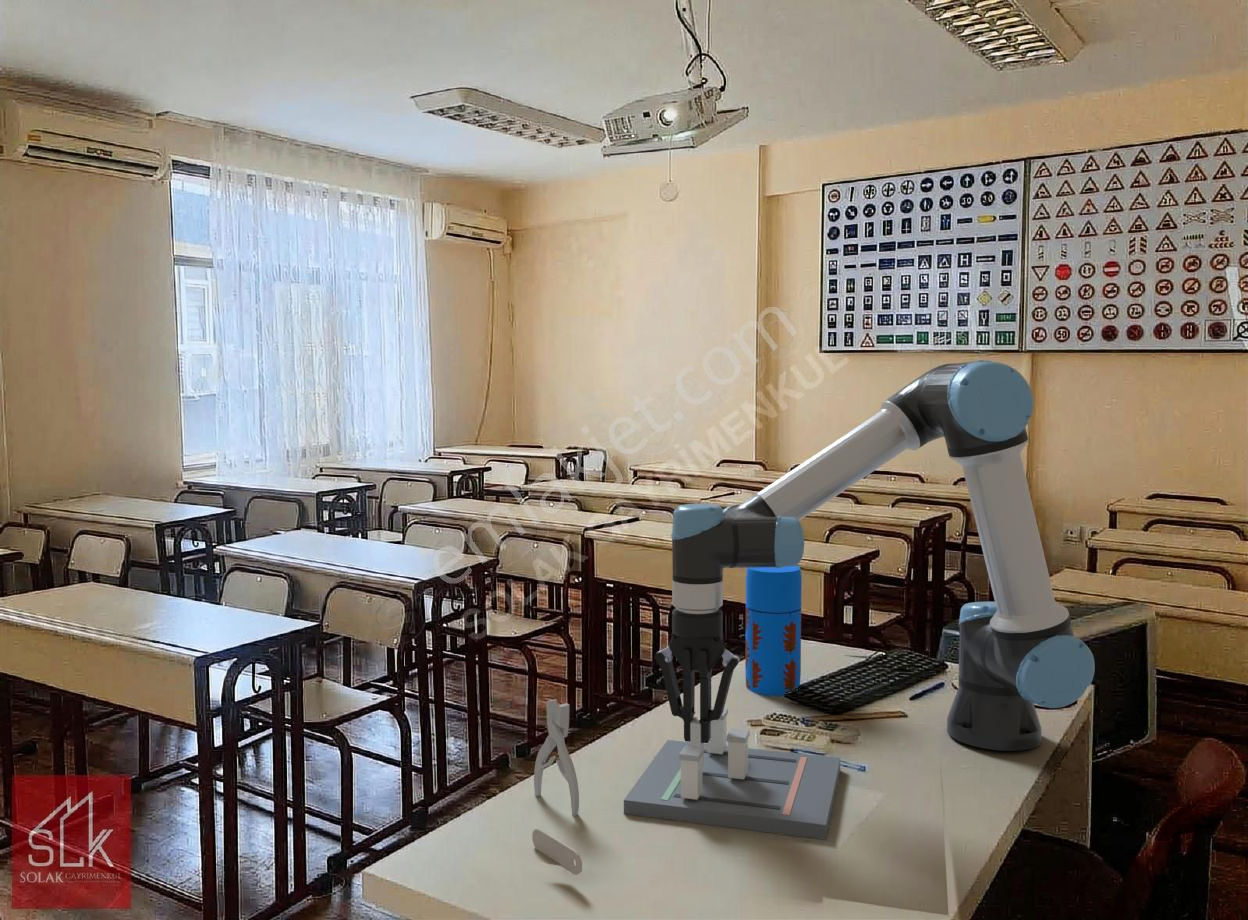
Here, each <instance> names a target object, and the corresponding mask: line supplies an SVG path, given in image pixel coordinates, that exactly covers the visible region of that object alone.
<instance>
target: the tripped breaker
mask: <svg viewBox="0 0 1248 920" xmlns="http://www.w3.org/2000/svg"><path fill="white" fill-rule="evenodd" d="M750 736H751V735H750V729H743V728H734V727H731V728H730V729H729V731H728V733H727V734H726V743H728V744H727V746H728V778H736V779H745V776H746V774H747V772H748V748H749V737H750Z"/></svg>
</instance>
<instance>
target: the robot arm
mask: <svg viewBox="0 0 1248 920" xmlns="http://www.w3.org/2000/svg"><path fill="white" fill-rule="evenodd" d="M1033 411H1034V395H1033V392H1032V389H1031V386H1030V385H1029V383H1028V381H1027V380H1026V379H1025V377H1024V376H1023V375H1022V374H1021V373H1020V372H1019V371H1018V370H1017V369H1016V368H1013V367H1011V366H1010V365H1008V364H1005V363H1003V362H999V361H998V362H997V361H992V360H975V361H965V362H958V363H946V364H941V365H938V366H936V367H934V368H931V369H930V370H928V371H926V372H924V373H922V374H921V375H920V376H918V377H917V378H916V379H914V380H912V381H911V382H909V383H908V384H907V385H905V386H904V387H902V388H901V389H900V390H897V392H895V393H894V394H893V395H891V396H889V397H888V398H887V399H885V400H883V402H881V405H880V411H879V412H877V413H875V414H874V415H873V416H871V417H869V418H867V420H865V421H864V422H862V423H860V424H859V425H858V426H856V427H854V428H853V429H851V430H850V431H849V432H847V433H845V434H844V435H842V436H840V437H839V438H838V439H837V440H835V441H833V442H831V443H830V444H829V445H828V446H826V447H823V448H822V449H821V450H820V451H818V452H817V453H815V454H814V455H812V456H811V457H810V458H808V459H807V460H805V461H803V462H802V463H801V464H799V465H797V466H796V467H794V468H793V469H792V470H789V472H787V473H786V474H784V475H783V476H781V477H780V478H778V479H776V480H775V481H773V482H772V483H770V484H769V485H768V486H766V487H764V488H763V489H762V490H760V491H759V492H757V493H756V494H755V495H753V496H751V497H749V498H748V499H746V500H745V501H742V503H739V504H737V503H736V504H733V505H729V506H727V507H726V508H724V509H723V508H722V507H721V506H720V505H718V504H712V503H687V504H686V503H685V504H681V505H679V506H677V507H676V508H675V509H674V511H673V514H672V516H673V517H672V528H671V529H672V531H671V543H672V544H671V549H672V550H671V552H672V554H671V556H672V558H671V559H672V560H671V563H672V564H671V565H672V566H671V567H672V568H671V569H672V580H671V582H672V586H671V589H672V590H671V591H672V592H671V594H672V595H671V601H672V602H671V605H672V606H673V607H674V609H673V610H671V611H672V613H671V616H672V617H671V622H672V623H671V626H672V628H671V631H672V633H671V635H672V636H671V639H670V641H669V642H668V646H667V647H664V648H660V649H659V651H657V652H656V653H655V654H654V659H655V661H656V662H657V664H658V666H659V667H660V669H661V674H662V678H663V681H664V686H665V690H666V691H665V692H666V695H667V700H668V704H669V708H670V711H671V715H672V716H673V717H678V718H680V719H681V720H682V721H683V739H684V740H683V741H684V742H690V746H697V747H704V744H708V742H709V740H710V738H711V721H712V720H718V719H719V718H720V717H721V715H722V713H723V710H724V708H725V706H726V702H727V697H728V694H729V689H730V686H731V682H732V677H733V674H734V671H735V668H736V667H737V666H738V664H739V663H740V661H741V655H739V654H734V653H732V652H730V650H728V649H727V643H725V640H724V634H723V633H724V631H723V623H724V621H723V620H724V617H723V614H724V613H723V611H722V609H721V607H723V604H724V603H723V601H724V600H723V598H724V595H723V594H724V592H723V591H724V590H723V589H724V587H723V582H724V580H723V579H724V578H723V577H724V569H735V568H736V569H737V568H739V569H740V568H743V569H744V568H746V569H747V568H748V567H777V568H780V567H786V566H798V565H799V564H800V563H801V562H802V560H803V557H804V551H805V534H804V529H803V526H802V523H801V522H800V521H801V520H802V519H804V518H805V517H807V516H809V515H810V514H811V513H813V512H814V511H816V510H818V509H819V508H821V507H822V506H824V505H825V504H827V503H829V502H830V501H831V500H833V499H834V498H835V497H837V496H839V495H840V494H842V493H843V492H845V490H847V489H849V488H850V487H852V486H853V485H855V484H857V483H858V482H859V481H861V480H862V479H864V478H866V477H867V476H869V475H870V474H871V473H873V472H874V471H876V470H877V469H879V468H881V467H882V466H884V465H885V464H886V463H888V462H890V461H891V460H893V459H894V458H896V457H897V456H898V455H900V454H902V453H903V452H904V451H906V450H911V451H917V450H920V448H922V447H924V446H925V445H926V444H928V443H930V442H933V441H935V440H938V439H940V438H944V440H945V445H946V448H947V452H948V457H949V459H950V460H952V461H955V462H956V463H958V464H959V465H961V468H962V470H963V475H964V479H965V484H966V488H967V492H968V496H969V499H970V505H971V508H972V511H973V517H974V521H975V525H976V529H977V532H978V537H979V540H980V545H981V549H982V553H983V557H984V562H985V566H986V570H987V574H988V578H989V582H990V587H991V591H992V596H993V599H994V601H974V602H968V603H965V604H964V605H962V607H961V608H960V612H959V613H960V614H959V619H958V629H959V630H958V632H959V633H958V688H957V690H956V694H955V696H954V698H953V701H952V704H951V707H950V709H949V712H948V715H947V719H946V731H947V732H946V733H947V734H948V735H949V736H950V737H951V738H953V739H954V740H956V741H958V742H960V743H962V744H966V745H968V746H973V747H977V748H980V749H988V750H992V751H993V750H994V751H1006V752H1008V751H1011V752H1012V751H1013V752H1014V751H1024V750H1025V751H1026V750H1031V749H1035V748H1036V747H1038V746H1039V745H1040V744H1041V743H1042V734H1043V733H1042V725H1041V722H1040V718H1039V716H1038V713H1037V709H1036V706H1035V704H1036V705H1039V706H1041V707H1043V708H1049V709H1058V708H1063V707H1066V706H1069V705H1071V704H1073V703H1075V702H1077V700H1079V699H1080V698H1081V697H1083V695H1084V694H1085V693H1086V690H1087V689H1088V687H1091V684H1092V682H1093V679H1094V675H1095V667H1096V666H1095V658H1094V654H1093V653H1092V651H1091V649H1090V648H1089V647H1088V645H1087V644H1085V642H1084V641H1083V640H1081V639H1080V638H1078V637H1077V636H1075V633H1074V628H1073V624H1072V621H1071V617H1070V616H1071V615H1070V612H1069V610H1068V608H1067V607H1066V606H1063V605H1061V603H1058V602H1057V601H1056V600H1055V599H1056V598H1055V595H1054V591H1053V587H1052V586H1053V585H1052V583H1051V579H1050V578H1051V577H1050V574H1049V570H1048V569H1049V568H1048V566H1047V561H1046V557H1045V552H1044V549H1043V544H1042V540H1041V536H1040V531H1039V527H1038V524H1037V523H1038V522H1037V519H1036V514H1035V509H1034V507H1033V506H1034V505H1033V502H1032V499H1031V494H1030V493H1031V492H1030V489H1029V484H1028V480H1027V476H1026V473H1025V472H1026V471H1025V467H1024V463H1023V459H1022V451H1023V449H1025V447H1026V446H1027V444H1028V443H1029V438H1028V437H1029V436H1028V432H1027V427H1028V424H1029V420H1030V418H1031V417H1032V416H1033ZM673 656H674V657H675V659H676V661H677V662H678V663H679V665H680V667H682V675H681V676H682V682H683V684H682V697H681V693H680V690H679V684H678V681H677V680H678V679H677V676H676V671H675V667H674V664H673V659H674V657H673ZM721 657H722V665H723V666H722V667H724V669H723V671H722V674H721V678H720V681H719V685H718V690H717V695H716V699H715V702H714V706H713V707H714V709H713V710H711V707H712V672H713V668H714V666H715V665H716V664H717V662H718V661H720V658H721ZM696 671H698V673H699V675H698V677H699V690H700V691H699V717H697V716H696V717H695V714H696V710H695V701H696V700H695V697H696V696H695V695H696V693H695V689H696V688H695V687H696V686H695V685H696V683H695V680H696V678H695V677H696V676H695V675H696V674H695V673H696ZM703 761H704V754H703Z"/></svg>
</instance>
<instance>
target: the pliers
mask: <svg viewBox="0 0 1248 920" xmlns="http://www.w3.org/2000/svg"><path fill="white" fill-rule="evenodd" d="M545 705H546V709H545V710H546V725H547V732H548V735H547V737H546V738H545V741H544V743H543V744H542V745H541V747H540V748H539V750H538V752H537V755H536V760H535V764H534V770H533V771H534V772H533V787H534V788H533V789H534V797H540V796H541V795H542V785H543V774H544V770H545V768H547V767H550V766H551V765H552V764H553V763H554V761H555V762H556V764H557V767H558V770H559V772H560V773H561V775H562V777H563V778H564V779H565V780H566V782H567V783H568V788H569V794H570V795H569V797H570V804H571V805H570V806H571V816H572V817H576V816H578V815H579V810H580V790H579V784H578V778H577V773H576V768H575V766H574V763H573V760H572V759H573V758H572V757H571V755H570V753H569V751H568V748H567V746H566V743H565V738H568V734H569V727H570V704H569V703H567V702H566V703H562V704H558V699H551V700H547V701H546V702H545ZM555 748H557V753H558V754H557V755H558V757H559V758H558V759H556V755H553V756H550V757H549V755H550V754H551V752H552V751H553V750H554V749H555ZM548 757H549V759H548ZM547 759H548V761H547ZM546 761H547V762H546Z"/></svg>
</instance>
